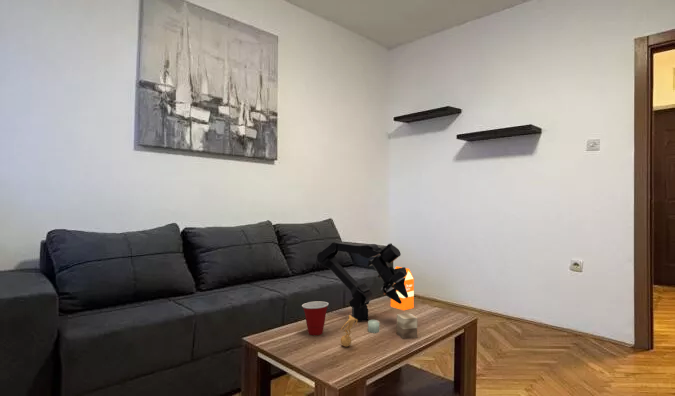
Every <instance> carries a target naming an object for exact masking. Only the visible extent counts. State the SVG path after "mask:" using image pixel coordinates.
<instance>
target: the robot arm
mask: <svg viewBox="0 0 675 396" xmlns="http://www.w3.org/2000/svg"><path fill="white" fill-rule="evenodd" d="M339 252H345V253H351V254H357V255H359V256H361V257H363V258H366V259H368V261H367V267H372V266H373V268H374V269H375V271H376V273H377V277H378V279H381V281H382V282H383V284H382V285H383V286H381V288H380V293H381V294H382V295H384V296H386V297H388V298H390V300H391V299H393V300H394V301H396V302H397V303H399V304H401V303H402V302H401V300H400V298H399V296H398V294H397V292H396V290H397V291H398V292H400V293H401V294H402V295H403V296H404V297H405V298H408V294H407V291H406V288H405V285H404V282H405V278H404V277H405V276H406V275H407V271H406V268H407V267H404V266H403V267H402V268H397V269H395V268H393V267H392V266H389V264H392V263H393V262H394V261H396V260H397V259H398V258H400V257H401V251H400V250H399V248H397V247H396V246H395V245H394V244H392V243H388V244H387V245H386V246H385V247H384V248H381V247H379V246H378V245H377V244H375V243H368V244H356V243H349V242H342V241H334V242H333V241H332V243H331V244H329V246H327V247H325V248H324V249H323V250H322V251H320V252H319V253H318V254H317V255H316V261H317V262H318V264H320V265H321V266H322V267H325V268H326V269H329V270H330V271H331V272H332V273H333V274H334V275H335V276H336V277H337V278H338V279H339V280H340V281H341V283H342V284H343V285H344V286H346V288H347V289H348V290H349V291H350V294H351V297H352V299H350V301H349V302H348V304H349V306H350V308H351V316H352V317H353V318H355V319H357V320H358V321H357V322H368V321H369V308H368V305H369V304H370V302H371V301H372V299H373V292H372V291H371V288H370V287H368V285H367V284H366V283H361V284H360V283H359V282H358V281H356V280H355V279H354V278H353V276H351V274H349V272H348V271H347V270H346V269H345V268H344V267H343V266H342V265H341V264H340V263H339V261H338V259H337V255H338V253H339ZM370 258H371V259H370Z"/></svg>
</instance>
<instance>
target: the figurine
mask: <svg viewBox="0 0 675 396" xmlns="http://www.w3.org/2000/svg"><path fill="white" fill-rule="evenodd" d="M358 322H359V321H358V320H357V319H355V318H353V317H352V314H349V315H348V320H347V321H345V323H344V325H342V327H341V328H340V331H342V329H343V328H344V331H345V332H344V333H346V334H345V335H342V337H340V344H341V346H343V347H345V348H346V347H350V345H351V344H352V338H351V337H350V335H351V329H352V328H353V327H354V325H353V324H355V326H358Z"/></svg>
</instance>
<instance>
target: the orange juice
mask: <svg viewBox="0 0 675 396" xmlns="http://www.w3.org/2000/svg"><path fill="white" fill-rule="evenodd" d="M397 268H403V267H401V266H397V265H396V266H395V268H394V269H397ZM405 268H406V271H407V275H406V276H405V277H404V278H405V282H404V285H405V288H406V291H407V294H408V298H405V297H404V296H403V295H402V294H401V293H400V292H398V291H397V290H396V292H397V294H398V296H399V298H400V300H401V302H402V303H401V304H399V303H397V302H396V301H394V300H393V299H391V298H390V307H391V308H394V309H398V310H400V311H406V310H411V309H414V303H415V302H414V301H415V299H414V298H415V297H414V296H415V291H414V290H415V287H414V286H415V278H414V276H413V274H412V272H411V270H410V268H407V267H405Z"/></svg>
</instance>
